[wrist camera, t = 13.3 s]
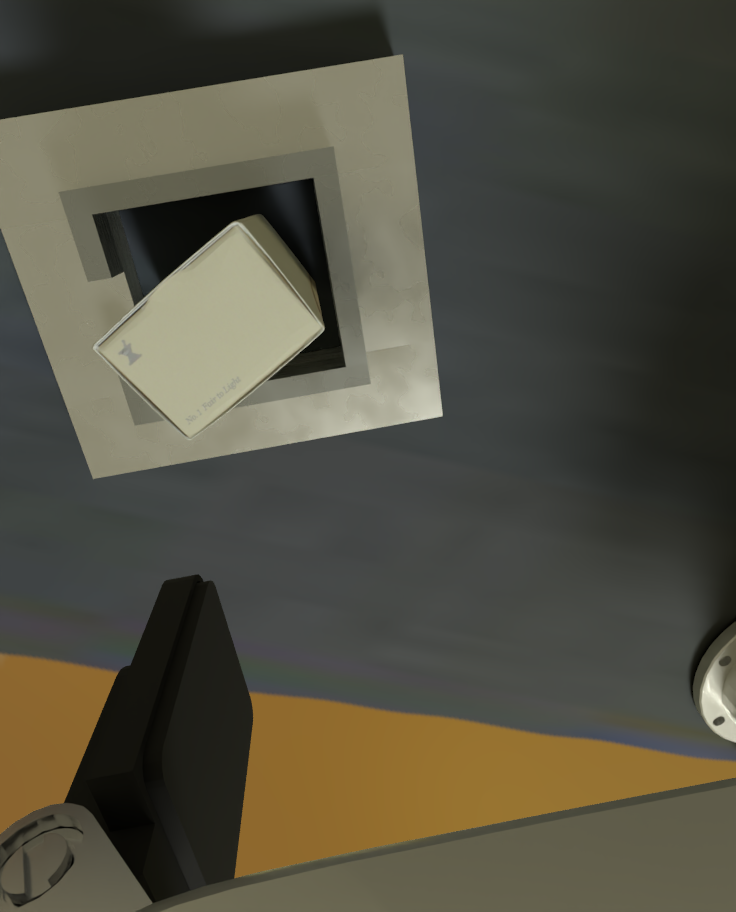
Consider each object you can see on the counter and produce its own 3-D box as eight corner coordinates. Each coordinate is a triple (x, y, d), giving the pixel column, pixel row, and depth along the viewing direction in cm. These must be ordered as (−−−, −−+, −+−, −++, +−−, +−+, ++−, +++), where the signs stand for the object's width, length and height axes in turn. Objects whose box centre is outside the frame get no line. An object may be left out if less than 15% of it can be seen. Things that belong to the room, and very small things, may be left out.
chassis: (435, 403, 34) (451, 429, 31) (104, 462, 34) (80, 496, 30) (395, 62, 28) (410, 44, 24) (-15, 129, 27) (-64, 121, 24)
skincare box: (225, 359, 32) (185, 452, 21) (161, 289, 30) (82, 350, 19) (320, 280, 31) (332, 334, 20) (260, 203, 29) (236, 216, 18)
